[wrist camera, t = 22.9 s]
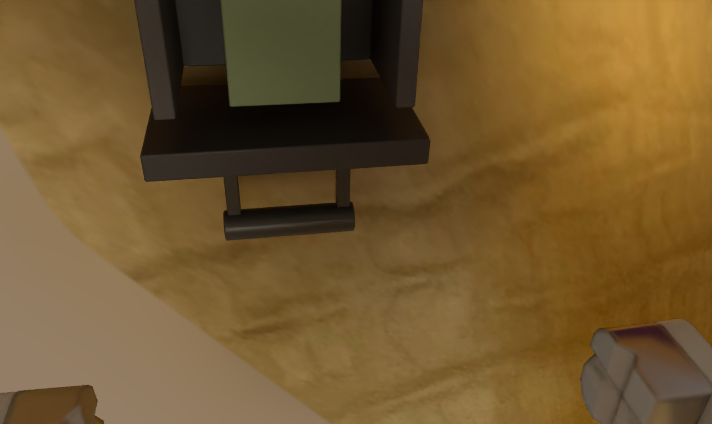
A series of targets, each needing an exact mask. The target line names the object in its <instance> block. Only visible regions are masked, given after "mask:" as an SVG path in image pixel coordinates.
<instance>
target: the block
mask: <svg viewBox="0 0 712 424" xmlns="http://www.w3.org/2000/svg"><path fill="white" fill-rule="evenodd" d="M220 4H221V15H222V26H223V37H224V49H225V60H226V71H227V82H228V94H229V105H230V106H231V107H235V106H258V105H281V104H303V103H326V102H339V101H340V73H341V0H220Z"/></svg>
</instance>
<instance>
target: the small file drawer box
mask: <svg viewBox="0 0 712 424" xmlns="http://www.w3.org/2000/svg"><path fill="white" fill-rule="evenodd" d="M134 2H135V8H136V14H137V20H138V26H139V32H140V38H141V44H142V50H143V56H144V62H145V68H146V74H147V80H148V86H149V92H150V98H151V105H152V108H151V112H150V117H149V121H148V125H147V129H146V134H145V138H144V142H143V147H142V151H141V155H140V158H141V164H142V169H143V175H144V180H145V181H146V182H150V181H166V180H181V179H197V178H213V177H224V185H225V195H226V204H227V210H225V211H224V212H223V219H224V233H225V239H226V240H227V241H228V240H241V239H254V238H267V237H279V236H292V235H305V234H318V233H330V232H343V231H353V230H354V228H355V214H354V207H353V204H352V202H350V169H354V168H370V167H385V166H401V165H417V164H427V163H428V158H429V148H430V138H429V136H428V134H427V133H426V131H425V129H424V128H423V126H422V124H421V122H420V121H419V119H418V117H417V115H416V114H415V112H414V110H413V109H412V107H414V106H415V98H416V85H417V72H418V59H419V47H420V34H421V21H422V8H423V0H341V60H366V59H371V61H372V63H373V65H374V67H375V69H376V71H377V73H378V74H379V76H380V78H366V79H342V80H340V101H339V102H326V103H303V104H281V105H258V106H235V107H231V106H230V105H229V94H228V84H224V85H201V86H181V81H182V74H183V68H184V66H208V65H226V60H225V49H224V37H223V26H222V15H221V4H220V0H134ZM323 170H336V203H322V204H308V205H294V206H280V207H266V208H252V209H241V205H240V194H239V183H238V176H244V175H260V174H276V173H291V172H307V171H323Z"/></svg>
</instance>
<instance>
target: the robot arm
mask: <svg viewBox="0 0 712 424" xmlns="http://www.w3.org/2000/svg"><path fill="white" fill-rule="evenodd" d="M590 347H591V348H592V350H593V351H594V353H595V354H594V355H593V356H592V357H591V358H590V359H589V360H588V361H587V362H585V363H584V365H583V369H582V373H581V377H580V381H581V391H582V396H583V399H584V402H585V405H586V407H587V409H588V411H589V412H590V414H591V416H592V418H593V419H594V420H596V421H597V422H599V423H600V424H712V347H711V346H710V345H709V344H708V342H707V341H706V340H705V339H704V338H703V337H702V336H701V334H700V333H699V332H698V331H697V330H696V329H695V328H694V326H693V325H692V324H691V323H689V322H688V321H686V320H684V319H674V320H666V321H657V322H653V323H651V322H647V323H639V324H631V325H622V326H614V327H606V328H599V329H598V330H597V331H596V332H595V333H594V334H593V336H592V339H591V342H590ZM96 407H97V398H96V395H95V392H94V389H93V387H92V386H90V385H82V386H71V387H59V388H47V389H35V390H24V391H18V392H7V393H0V424H104V421H103V420H102V419H100V418H98V417H97V416H95V411H96Z"/></svg>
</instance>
